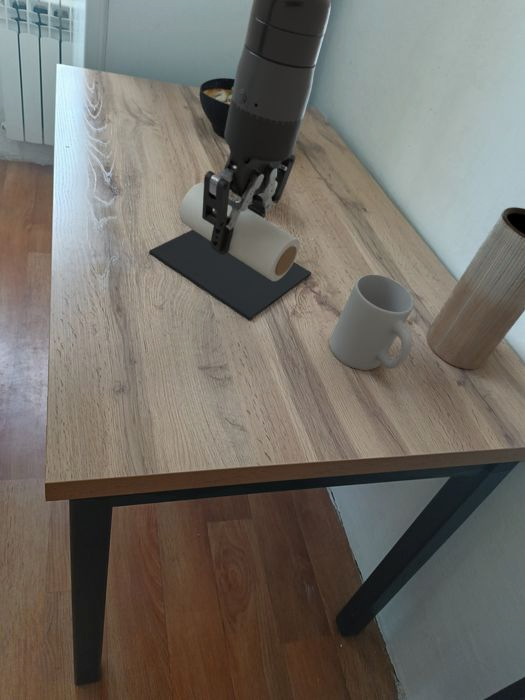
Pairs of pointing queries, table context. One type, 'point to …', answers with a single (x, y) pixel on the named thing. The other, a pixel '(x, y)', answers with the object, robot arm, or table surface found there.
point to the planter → (484, 296)
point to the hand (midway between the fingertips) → (235, 241)
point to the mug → (373, 324)
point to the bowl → (217, 102)
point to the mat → (225, 274)
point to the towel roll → (246, 237)
